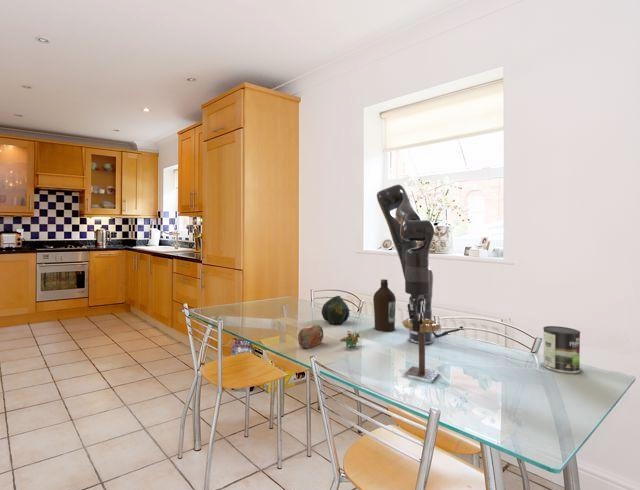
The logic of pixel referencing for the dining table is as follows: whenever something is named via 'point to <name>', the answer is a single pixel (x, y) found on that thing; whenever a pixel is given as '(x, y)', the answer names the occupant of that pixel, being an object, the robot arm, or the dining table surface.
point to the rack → (422, 362)
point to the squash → (335, 310)
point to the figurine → (351, 339)
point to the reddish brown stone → (310, 336)
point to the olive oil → (384, 308)
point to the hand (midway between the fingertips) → (417, 330)
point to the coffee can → (562, 349)
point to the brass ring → (423, 325)
